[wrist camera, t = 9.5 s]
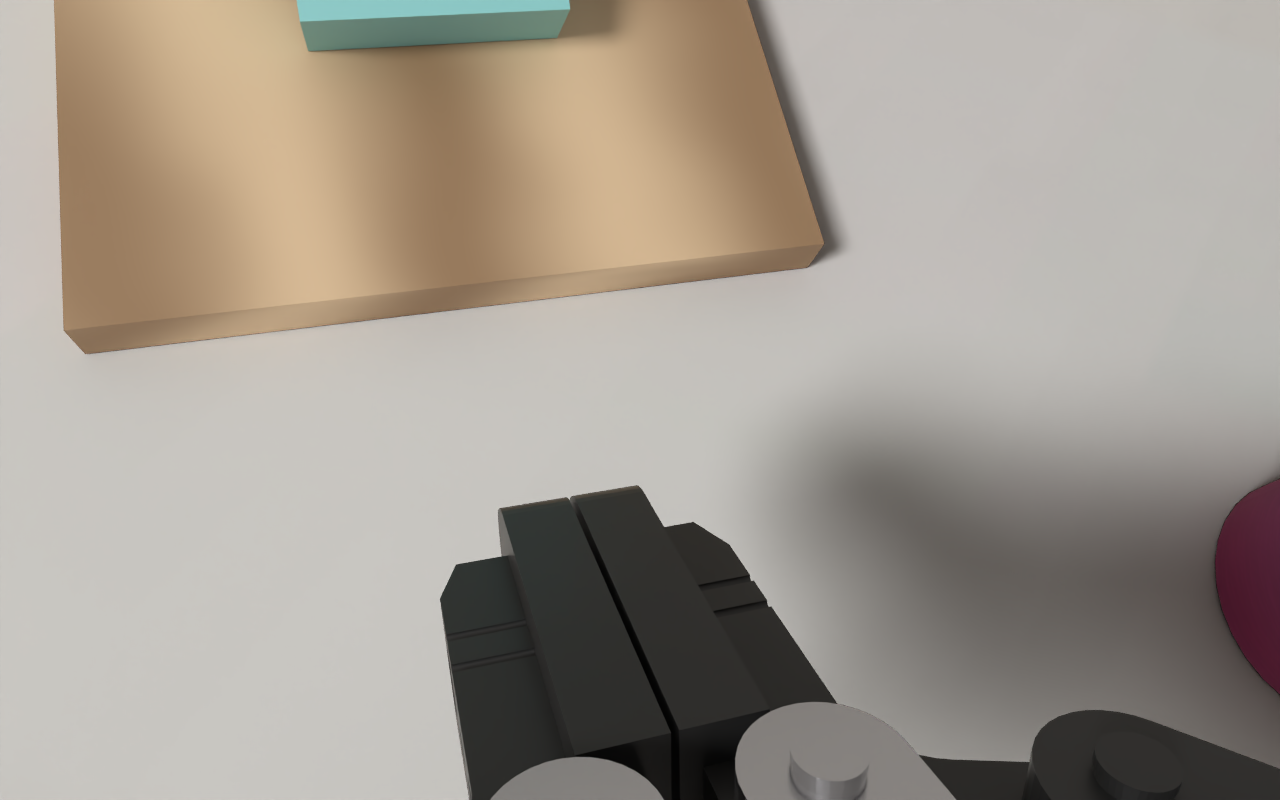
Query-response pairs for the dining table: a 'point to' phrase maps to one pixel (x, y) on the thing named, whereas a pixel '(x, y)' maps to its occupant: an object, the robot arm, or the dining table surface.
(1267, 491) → the cup
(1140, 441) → the dining table surface
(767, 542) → the dining table surface
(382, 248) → the board
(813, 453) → the dining table surface
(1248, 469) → the dining table surface
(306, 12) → the domino
